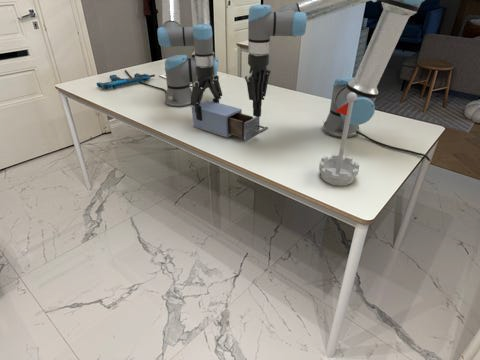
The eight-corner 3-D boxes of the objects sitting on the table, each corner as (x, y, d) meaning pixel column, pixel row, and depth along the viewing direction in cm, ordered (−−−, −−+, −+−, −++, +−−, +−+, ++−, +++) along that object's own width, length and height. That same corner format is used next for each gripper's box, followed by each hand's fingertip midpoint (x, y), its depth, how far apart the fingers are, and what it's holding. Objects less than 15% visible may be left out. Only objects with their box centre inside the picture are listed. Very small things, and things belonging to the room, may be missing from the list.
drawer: (270, 136, 140) (270, 119, 136) (257, 144, 134) (257, 126, 130) (225, 123, 153) (224, 107, 149) (212, 129, 148) (210, 113, 144)
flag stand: (341, 164, 125) (356, 83, 108) (364, 182, 115) (385, 96, 98) (310, 171, 121) (321, 88, 105) (331, 190, 111) (347, 102, 94)
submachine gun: (140, 68, 226) (159, 74, 209) (142, 73, 228) (160, 80, 211) (89, 77, 207) (104, 85, 190) (90, 84, 209) (106, 92, 192)
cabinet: (242, 129, 149) (241, 109, 144) (227, 137, 143) (225, 116, 138) (208, 119, 161) (207, 100, 156) (193, 126, 154) (191, 106, 149)
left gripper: (216, 58, 150) (218, 107, 162) (177, 69, 135) (183, 121, 147) (229, 61, 146) (230, 110, 158) (191, 73, 131) (195, 126, 143)
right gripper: (261, 49, 127) (259, 108, 140) (238, 55, 119) (239, 118, 131) (277, 51, 123) (274, 113, 136) (255, 58, 115) (254, 123, 127)
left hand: (207, 116), depth 152 cm, fingers closed on cabinet, 10 cm apart
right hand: (256, 115), depth 134 cm, fingers closed
